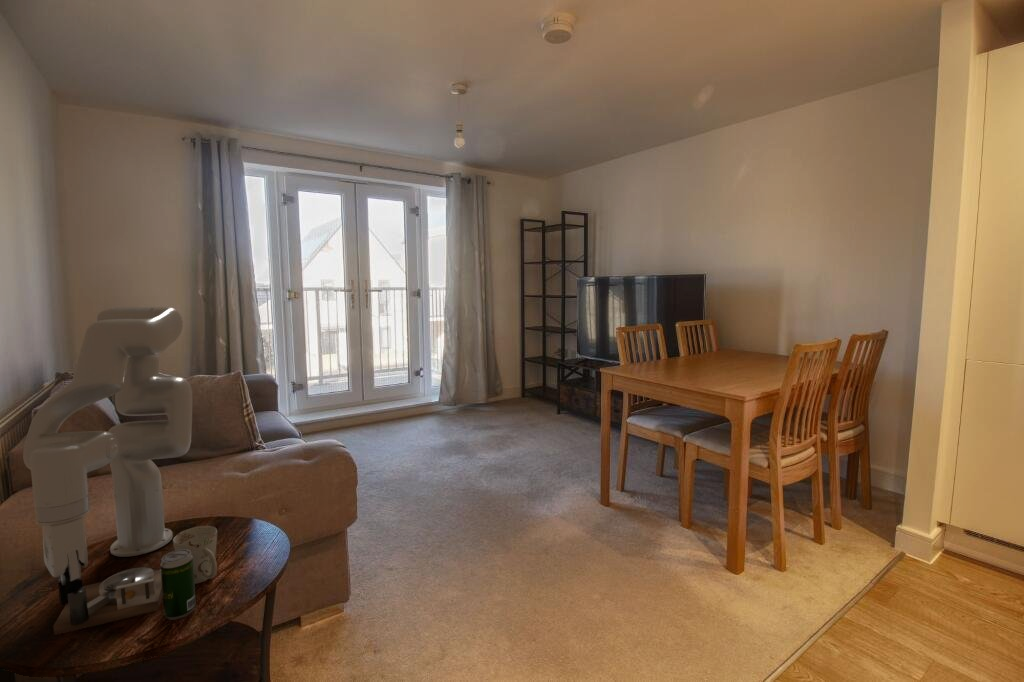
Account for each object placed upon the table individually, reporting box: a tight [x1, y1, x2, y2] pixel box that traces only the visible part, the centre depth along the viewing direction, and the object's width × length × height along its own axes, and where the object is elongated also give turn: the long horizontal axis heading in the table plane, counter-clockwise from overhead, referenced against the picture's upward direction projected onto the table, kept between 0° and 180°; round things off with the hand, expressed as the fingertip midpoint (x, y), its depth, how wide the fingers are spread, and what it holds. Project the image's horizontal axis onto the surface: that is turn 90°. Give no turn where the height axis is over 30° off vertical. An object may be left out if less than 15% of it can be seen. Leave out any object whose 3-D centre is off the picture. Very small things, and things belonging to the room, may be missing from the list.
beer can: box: [159, 549, 197, 621], centre depth 98 cm, size 5×5×12 cm
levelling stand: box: [53, 569, 163, 636], centre depth 100 cm, size 14×16×6 cm
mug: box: [172, 525, 218, 585], centre depth 109 cm, size 8×13×10 cm, turn 60°
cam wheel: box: [68, 566, 155, 626], centre depth 98 cm, size 15×9×6 cm, turn 169°
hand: (71, 599), depth 94 cm, fingers closed
